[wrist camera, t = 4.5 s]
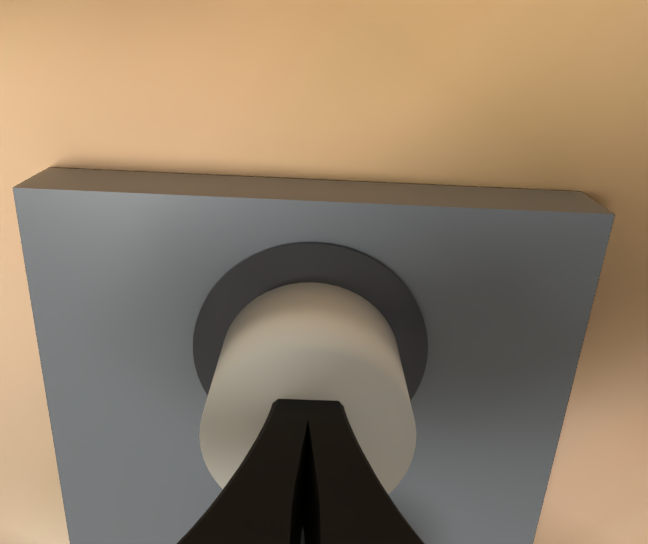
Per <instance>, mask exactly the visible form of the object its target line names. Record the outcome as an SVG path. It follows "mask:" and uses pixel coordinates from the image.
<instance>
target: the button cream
mask: <svg viewBox="0 0 648 544" xmlns="http://www.w3.org/2000/svg"><path fill="white" fill-rule="evenodd" d="M277 399H301V400H331V401H339V402H340V403H341V404H342V405H343V406H344V409H345V412H346V415H347V418H348V421H349V423H350V426H351V428H352V430H353V432H354V435H355V437H356V439H357V441H358V443H359V445H360V447H361V449H362V451H363V453H364V455H365V456H366V458H367V460H368V462H369V464H370V465H371V467H372V469H373V471H374V473H375V474H376V476H377V478H378V479H379V481H380V483H381V484H382V486H383V487H384V489H385V490H386V492H387V493H388V495H389V494H390V493H391V492H392V491H393V490H394V489H395V488H396V487H397V485H398V484H399V483H400V481H401V480H402V479H403V477H404V476H405V474H406V472H407V470H408V469H409V467H410V464H411V461H412V459H413V456H414V451H415V447H416V425H415V419H414V415H413V411H412V407H411V402H410V398H409V394H408V389H407V385H406V381H405V377H404V372H403V368H402V364H401V359H400V355H399V351H398V347H397V343H396V339H395V336H394V334H393V331H392V329H391V327H390V325H389V324H388V322H387V321H386V319H385V318H384V316H383V315H382V314H381V313H380V312H379V310H378V309H377V308H375V307H374V306H373V305H372V304H371V303H370V302H368V301H367V300H366V299H364V298H363V297H361V296H360V295H358V294H356V293H354V292H352V291H350V290H347V289H344V288H341V287H339V286H335V285H330V284H325V283H315V282H307V283H295V284H289V285H285V286H281V287H278V288H275V289H273V290H270V291H268V292H266V293H264V294H262V295H260V296H259V297H257V298H255V299H254V300H253V301H251V302H250V303H249V304H247V305H246V306H245V307H244V308H243V309H242V310H241V311H240V312H239V314H238V315H237V316H236V318H235V319H234V320H233V322H232V324H231V326H230V327H229V329H228V331H227V334H226V337H225V339H224V343H223V346H222V349H221V353H220V356H219V360H218V363H217V366H216V370H215V373H214V376H213V380H212V383H211V386H210V390H209V393H208V397H207V400H206V403H205V407H204V410H203V413H202V418H201V423H200V433H199V439H200V447H201V452H202V455H203V459H204V462H205V464H206V466H207V468H208V470H209V472H210V473H211V475H212V477H213V478H214V480H215V481H216V482H217V483H218V485H219V486H220V487H221V488H222V489H224V487H225V486H226V484H227V483H228V482H229V480H230V479H231V477H232V476H233V475H234V473H235V472H236V470H237V469H238V467H239V466H240V464H241V463H242V461H243V460H244V458H245V456H246V455H247V453H248V452H249V450H250V448H251V447H252V445H253V443H254V442H255V440H256V438H257V436H258V435H259V433H260V431H261V429H262V427H263V425H264V423H265V421H266V419H267V417H268V414H269V412H270V409H271V407H272V403H273V402H275V401H276V400H277Z"/></svg>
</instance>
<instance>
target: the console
mask: <svg viewBox="0 0 648 544" xmlns="http://www.w3.org/2000/svg"><path fill="white" fill-rule="evenodd" d="M13 193H14V200H15V206H16V212H17V218H18V224H19V231H20V237H21V243H22V249H23V255H24V262H25V268H26V274H27V280H28V286H29V293H30V299H31V305H32V311H33V317H34V324H35V330H36V336H37V342H38V348H39V355H40V361H41V367H42V373H43V379H44V386H45V392H46V398H47V404H48V410H49V417H50V423H51V429H52V435H53V441H54V447H55V454H56V460H57V466H58V472H59V478H60V485H61V491H62V497H63V503H64V509H65V516H66V522H67V528H68V534H69V540H70V544H177V543H178V542H179V541H180V540H181V539H182V537H183V536H184V535H185V534H186V533H187V532H188V531H189V530H190V529H191V528H192V527H193V526H194V524H195V523H196V522H197V521H198V520H199V519H200V518H201V516H202V515H203V514H204V513H205V512H206V510H207V509H208V508H209V507H210V506H211V504H212V503H213V502H214V501H215V499H216V498H217V497H218V495H219V494H220V493H221V491H222V490H223V489H222V488H221V487H220V486H219V485H218V483H217V482H216V481H215V480H214V478H213V477H212V475H211V473H210V472H209V470H208V468H207V466H206V464H205V462H204V459H203V455H202V452H201V447H200V439H199V433H200V423H201V418H202V413H203V410H204V407H205V403H206V400H207V397H208V393H209V390H210V386H211V383H212V380H213V376H214V373H215V370H216V366H217V363H218V360H219V356H220V353H221V349H222V346H223V343H224V339H225V337H226V334H227V331H228V329H229V327H230V326H231V324H232V322H233V320H234V319H235V318H236V316H237V315H238V314H239V312H240V311H241V310H242V309H243V308H244V307H245V306H246V305H247V304H249V303H250V302H251V301H253V300H254V299H255V298H257V297H259V296H260V295H262V294H264V293H266V292H268V291H270V290H273V289H275V288H278V287H281V286H285V285H289V284H295V283H307V282H315V283H325V284H330V285H335V286H339V287H341V288H344V289H347V290H350V291H352V292H354V293H356V294H358V295H360V296H361V297H363V298H364V299H366V300H367V301H368V302H370V303H371V304H372V305H373V306H374V307H375V308H377V309H378V310H379V312H380V313H381V314H382V315H383V316H384V318H385V319H386V321H387V322H388V324H389V325H390V327H391V329H392V331H393V334H394V336H395V339H396V343H397V347H398V351H399V355H400V359H401V364H402V368H403V372H404V377H405V381H406V385H407V389H408V394H409V398H410V402H411V407H412V411H413V415H414V419H415V425H416V447H415V451H414V456H413V459H412V461H411V464H410V467H409V469H408V470H407V472H406V474H405V476H404V477H403V479H402V480H401V481H400V483H399V484H398V485H397V487H396V488H395V489H394V490H393V491H392V492H391V493H390V494H389V497H390V498H391V500H392V501H393V503H394V504H395V505H396V507H397V508H398V510H399V511H400V513H401V514H402V515H403V517H404V518H405V519H406V521H407V522H408V524H409V525H410V526H411V527H412V529H413V530H414V531H415V532H416V534H417V535H418V536H419V538H420V539H421V540H422V541H423V542H424V544H533V541H534V537H535V533H536V529H537V525H538V521H539V517H540V513H541V509H542V505H543V501H544V497H545V493H546V489H547V485H548V481H549V477H550V473H551V469H552V465H553V461H554V457H555V453H556V449H557V445H558V441H559V437H560V433H561V429H562V425H563V421H564V417H565V413H566V409H567V405H568V401H569V397H570V393H571V389H572V384H573V380H574V376H575V372H576V368H577V364H578V360H579V356H580V352H581V348H582V344H583V340H584V336H585V332H586V328H587V324H588V320H589V316H590V312H591V308H592V304H593V300H594V296H595V292H596V288H597V284H598V280H599V276H600V272H601V268H602V264H603V260H604V256H605V252H606V248H607V244H608V240H609V236H610V232H611V228H612V224H613V220H614V216H615V214H614V213H612V212H611V211H609V210H608V209H606V208H605V207H603V206H602V205H600V204H599V203H597V202H596V201H594V200H593V199H591V198H590V197H588V196H587V195H585V194H584V193H582V192H581V191H559V190H537V189H515V188H493V187H471V186H449V185H427V184H405V183H382V182H360V181H338V180H316V179H294V178H272V177H250V176H228V175H206V174H184V173H161V172H139V171H117V170H95V169H73V168H51V167H49V168H47V169H45V170H43V171H42V172H40V173H38V174H36V175H34V176H33V177H31V178H29V179H27V180H25V181H24V182H22V183H20V184H18V185H16V186H15V187H13ZM301 544H304V530H302V538H301Z"/></svg>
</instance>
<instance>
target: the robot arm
mask: <svg viewBox="0 0 648 544" xmlns="http://www.w3.org/2000/svg"><path fill="white" fill-rule="evenodd" d="M302 530H304V544H424V542H423V541H422V540H421V539H420V538H419V536H418V535H417V534H416V532H415V531H414V530H413V529H412V527H411V526H410V525H409V524H408V522H407V521H406V519H405V518H404V517H403V515H402V514H401V513H400V511H399V510H398V508H397V507H396V505H395V504H394V503H393V501H392V500H391V498H390V497H389V495H388V493H387V492H386V490H385V489H384V487H383V486H382V484H381V483H380V481H379V479H378V478H377V476H376V474H375V473H374V471H373V469H372V467H371V465H370V464H369V462H368V460H367V458H366V456H365V455H364V453H363V451H362V449H361V447H360V445H359V443H358V441H357V439H356V437H355V435H354V432H353V430H352V428H351V426H350V423H349V421H348V418H347V415H346V412H345V409H344V406H343V405H342V404H341V403H340V402H339V401H331V400H301V399H277V400H276V401H275V402H273V403H272V407H271V409H270V412H269V414H268V417H267V419H266V421H265V423H264V425H263V427H262V429H261V431H260V433H259V435H258V436H257V438H256V440H255V442H254V443H253V445H252V447H251V448H250V450H249V452H248V453H247V455H246V456H245V458H244V460H243V461H242V463H241V464H240V466H239V467H238V469H237V470H236V472H235V473H234V475H233V476H232V477H231V479H230V480H229V482H228V483H227V484H226V486H225V487H224V489H223V490H222V491H221V493H220V494H219V495H218V497H217V498H216V499H215V501H214V502H213V503H212V504H211V506H210V507H209V508H208V509H207V510H206V512H205V513H204V514H203V515H202V516H201V518H200V519H199V520H198V521H197V522H196V523H195V524H194V526H193V527H192V528H191V529H190V530H189V531H188V532H187V533H186V534H185V535H184V536H183V537H182V539H181V540H180V541H179V542H178V543H177V544H301V538H302Z"/></svg>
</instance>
